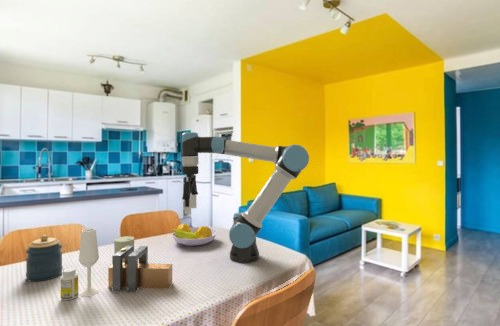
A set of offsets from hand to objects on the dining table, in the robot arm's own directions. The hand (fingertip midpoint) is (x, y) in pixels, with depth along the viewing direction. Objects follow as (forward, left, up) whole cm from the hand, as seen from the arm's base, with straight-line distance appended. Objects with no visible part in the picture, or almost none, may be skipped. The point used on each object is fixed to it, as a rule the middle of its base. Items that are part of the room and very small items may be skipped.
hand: (190, 210), depth 137 cm
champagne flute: (+32, +28, -27) cm, 50 cm away
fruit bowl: (+7, -36, -27) cm, 45 cm away
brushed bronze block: (+15, +21, -26) cm, 37 cm away
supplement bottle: (+37, +32, -27) cm, 56 cm away
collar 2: (+16, +21, -26) cm, 37 cm away
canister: (+60, +14, -27) cm, 67 cm away
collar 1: (+22, +21, -26) cm, 40 cm away
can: (+33, -3, -27) cm, 43 cm away
